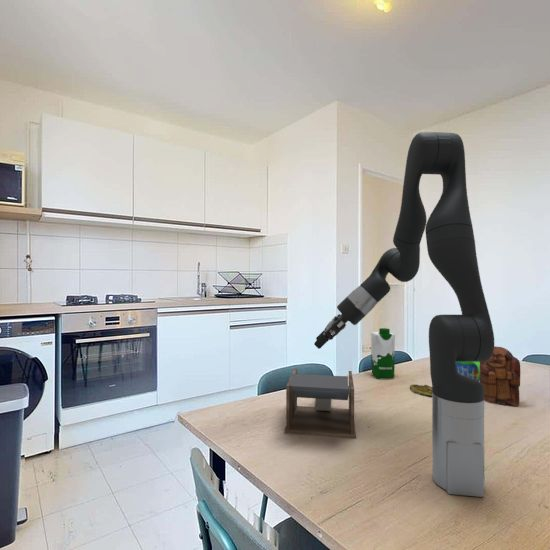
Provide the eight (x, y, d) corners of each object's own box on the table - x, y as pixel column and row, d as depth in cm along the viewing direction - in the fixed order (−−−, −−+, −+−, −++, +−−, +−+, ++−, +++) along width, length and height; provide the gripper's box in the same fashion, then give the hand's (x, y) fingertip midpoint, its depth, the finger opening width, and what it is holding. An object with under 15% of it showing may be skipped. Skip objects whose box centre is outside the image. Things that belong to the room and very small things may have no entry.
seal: (402, 393, 131) (442, 404, 119) (401, 381, 131) (441, 390, 119) (416, 386, 137) (456, 396, 125) (415, 374, 137) (455, 382, 125)
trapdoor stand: (356, 438, 91) (356, 389, 91) (284, 433, 94) (284, 385, 94) (353, 412, 109) (353, 371, 109) (292, 408, 112) (292, 368, 113)
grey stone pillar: (330, 393, 107) (331, 385, 119) (315, 392, 108) (317, 385, 120) (330, 411, 107) (331, 401, 119) (315, 410, 108) (317, 400, 119)
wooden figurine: (477, 400, 120) (476, 346, 120) (480, 395, 125) (480, 343, 125) (520, 408, 113) (519, 350, 113) (521, 403, 118) (521, 347, 118)
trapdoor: (350, 389, 87) (349, 376, 88) (288, 385, 89) (288, 373, 90) (347, 403, 106) (347, 393, 107) (296, 400, 108) (297, 390, 110)
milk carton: (375, 379, 144) (375, 329, 145) (369, 373, 154) (368, 326, 154) (397, 379, 145) (397, 329, 145) (389, 373, 154) (389, 326, 154)
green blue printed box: (444, 378, 147) (444, 353, 147) (469, 378, 147) (469, 353, 147) (465, 390, 131) (465, 362, 131) (493, 390, 131) (493, 362, 131)
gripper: (347, 294, 111) (309, 330, 113) (348, 297, 97) (306, 338, 99) (364, 312, 110) (327, 348, 112) (368, 317, 96) (325, 358, 98)
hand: (317, 343), depth 106 cm, fingers open, 8 cm apart
